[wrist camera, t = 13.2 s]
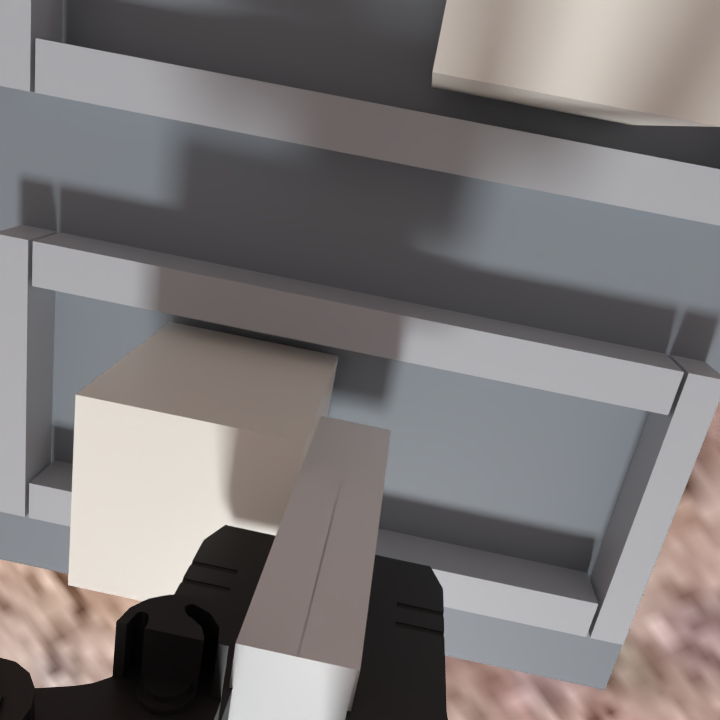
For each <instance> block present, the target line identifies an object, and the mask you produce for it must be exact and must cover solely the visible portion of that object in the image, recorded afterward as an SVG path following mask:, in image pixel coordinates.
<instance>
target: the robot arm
mask: <svg viewBox="0 0 720 720" xmlns="http://www.w3.org/2000/svg"><path fill="white" fill-rule="evenodd" d="M390 435H391V430H388V429H383V428H378V427H373V426H368V425H364V424H359V423H354V422H349V421H344V420H339V419H335V418H330V417H325V416H321V417H320V420H319V423H318V425H317V428H316V431H315V434H314V436H313V439H312V442H311V444H310V447H309V450H308V452H307V455H306V458H305V461H304V463H303V466H302V469H301V471H300V474H299V475H298V478H297V480H296V483H295V486H294V488H293V491H292V494H291V496H290V499H289V502H288V504H287V507H286V510H285V512H284V515H283V518H282V520H281V523H280V526H279V529H278V531H277V534H276V536H275V535H271V534H266V533H261V532H257V531H252V530H247V529H242V528H238V527H233V526H228V525H224V526H223V527H221V528H220V529H219V530H217V531H216V532H214V533H213V534H211V535H210V536H209V537H207V538H206V539H204V540H203V542H202V544H201V546H200V548H199V549H198V551H197V553H196V555H195V557H194V559H193V561H192V564H191V565H190V566H189V568H188V570H187V572H186V573H185V575H184V577H183V581H182V583H180V585H179V586H178V588H177V590H176V592H175V594H174V595H165V596H159V597H154V598H149V599H147V600H145V601H143V602H141V603H139V604H137V605H135V606H133V607H131V608H129V609H128V610H127V611H126V612H125V613H124V615H123V616H122V617H121V618H120V619H119V620H118V621H117V622H116V636H115V650H114V665H113V676H112V677H110V678H107V679H104V680H101V681H98V682H95V683H92V684H85V685H78V686H67V687H50V688H34V685H33V682H32V679H31V676H30V673H29V672H28V671H26V670H25V669H24V668H23V667H21V666H20V665H19V664H18V663H16V662H14V661H10V660H7V659H3V658H0V720H448V718H447V712H446V679H445V640H444V617H443V614H444V602H443V588H442V586H441V584H440V583H439V581H438V579H437V577H436V575H435V574H434V572H433V570H432V568H431V567H430V566H426V565H422V564H417V563H412V562H407V561H403V560H398V559H393V558H389V557H384V556H379V555H375V551H376V544H377V536H378V528H379V520H380V513H381V505H382V497H383V489H384V481H385V474H386V466H387V458H388V450H389V443H390Z"/></svg>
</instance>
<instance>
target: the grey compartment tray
mask: <svg viewBox="0 0 720 720" xmlns="http://www.w3.org/2000/svg"><path fill="white" fill-rule="evenodd" d="M446 1H447V0H0V559H2V560H7V561H11V562H16V563H20V564H25V565H30V566H34V567H39V568H44V569H48V570H53V571H57V572H62V573H67V574H69V550H70V524H71V499H72V473H73V447H74V422H75V396H76V394H77V393H78V392H80V391H81V390H82V389H83V388H85V387H86V386H87V385H89V384H90V383H91V382H92V381H94V380H95V379H96V378H98V377H99V376H100V375H102V374H103V373H104V372H105V371H107V370H108V369H109V368H111V367H112V366H113V365H115V364H116V363H117V362H118V361H120V360H121V359H122V358H124V357H125V356H126V355H128V354H129V353H130V352H131V351H133V350H134V349H135V348H137V347H138V346H139V345H140V344H142V343H143V342H144V341H146V340H147V339H148V338H150V337H151V336H152V335H153V334H155V333H156V332H157V331H159V330H160V329H161V328H163V327H164V326H165V325H166V324H168V323H169V322H174V323H179V324H184V325H189V326H194V327H199V328H204V329H208V330H213V331H218V332H223V333H228V334H233V335H238V336H243V337H248V338H253V339H258V340H262V341H267V342H272V343H277V344H282V345H287V346H292V347H297V348H302V349H307V350H312V351H316V352H321V353H326V354H331V355H336V356H339V357H338V362H337V368H336V373H335V379H334V384H333V390H332V395H331V401H330V407H329V412H328V417H330V418H335V419H339V420H344V421H349V422H354V423H359V424H364V425H368V426H373V427H378V428H383V429H388V430H391V435H390V443H389V450H388V458H387V466H386V474H385V481H384V489H383V497H382V505H381V513H380V520H379V528H378V536H377V544H376V551H375V555H379V556H384V557H389V558H393V559H398V560H403V561H407V562H412V563H417V564H422V565H426V566H430V567H431V568H432V570H433V572H434V574H435V575H436V577H437V579H438V581H439V583H440V584H441V586H442V588H443V602H444V614H443V617H444V640H445V655H446V656H450V657H455V658H459V659H464V660H469V661H473V662H478V663H483V664H487V665H492V666H496V667H501V668H506V669H510V670H515V671H520V672H524V673H529V674H533V675H538V676H543V677H547V678H552V679H557V680H561V681H566V682H570V683H575V684H580V685H584V686H589V687H594V688H598V689H603V690H605V688H606V685H607V683H608V680H609V678H610V675H611V673H612V670H613V667H614V665H615V662H616V660H617V657H618V655H619V652H620V650H621V647H622V645H623V644H624V641H625V639H626V636H627V634H628V631H629V628H630V626H631V623H632V621H633V618H634V616H635V613H636V611H637V608H638V606H639V603H640V601H641V598H642V596H643V593H644V591H645V588H646V585H647V583H648V580H649V578H650V575H651V573H652V570H653V568H654V565H655V563H656V560H657V558H658V555H659V553H660V550H661V548H662V545H663V542H664V540H665V537H666V535H667V532H668V530H669V527H670V525H671V522H672V520H673V517H674V515H675V512H676V510H677V507H678V505H679V502H680V499H681V497H682V494H683V492H684V489H685V487H686V484H687V482H688V479H689V477H690V474H691V472H692V469H693V467H694V464H695V461H696V459H697V456H698V454H699V451H700V449H701V446H702V444H703V441H704V439H705V436H706V434H707V431H708V429H709V426H710V424H711V421H712V418H713V416H714V413H715V411H716V408H717V406H718V403H719V401H720V127H702V126H651V125H627V124H622V123H616V122H611V121H606V120H601V119H595V118H590V117H585V116H580V115H574V114H569V113H564V112H559V111H553V110H548V109H543V108H538V107H532V106H527V105H522V104H517V103H511V102H506V101H501V100H496V99H490V98H485V97H480V96H475V95H469V94H464V93H459V92H454V91H448V90H443V89H438V88H433V87H432V71H433V66H434V61H435V56H436V51H437V46H438V41H439V36H440V31H441V26H442V21H443V16H444V11H445V6H446Z"/></svg>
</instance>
